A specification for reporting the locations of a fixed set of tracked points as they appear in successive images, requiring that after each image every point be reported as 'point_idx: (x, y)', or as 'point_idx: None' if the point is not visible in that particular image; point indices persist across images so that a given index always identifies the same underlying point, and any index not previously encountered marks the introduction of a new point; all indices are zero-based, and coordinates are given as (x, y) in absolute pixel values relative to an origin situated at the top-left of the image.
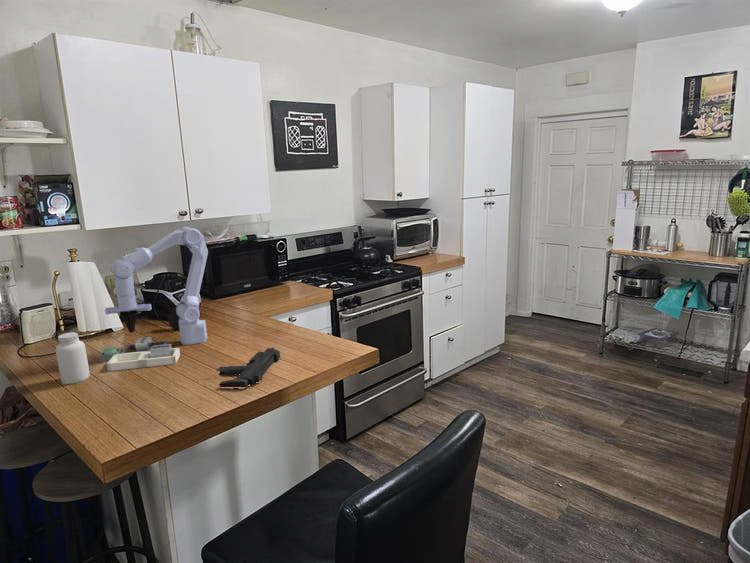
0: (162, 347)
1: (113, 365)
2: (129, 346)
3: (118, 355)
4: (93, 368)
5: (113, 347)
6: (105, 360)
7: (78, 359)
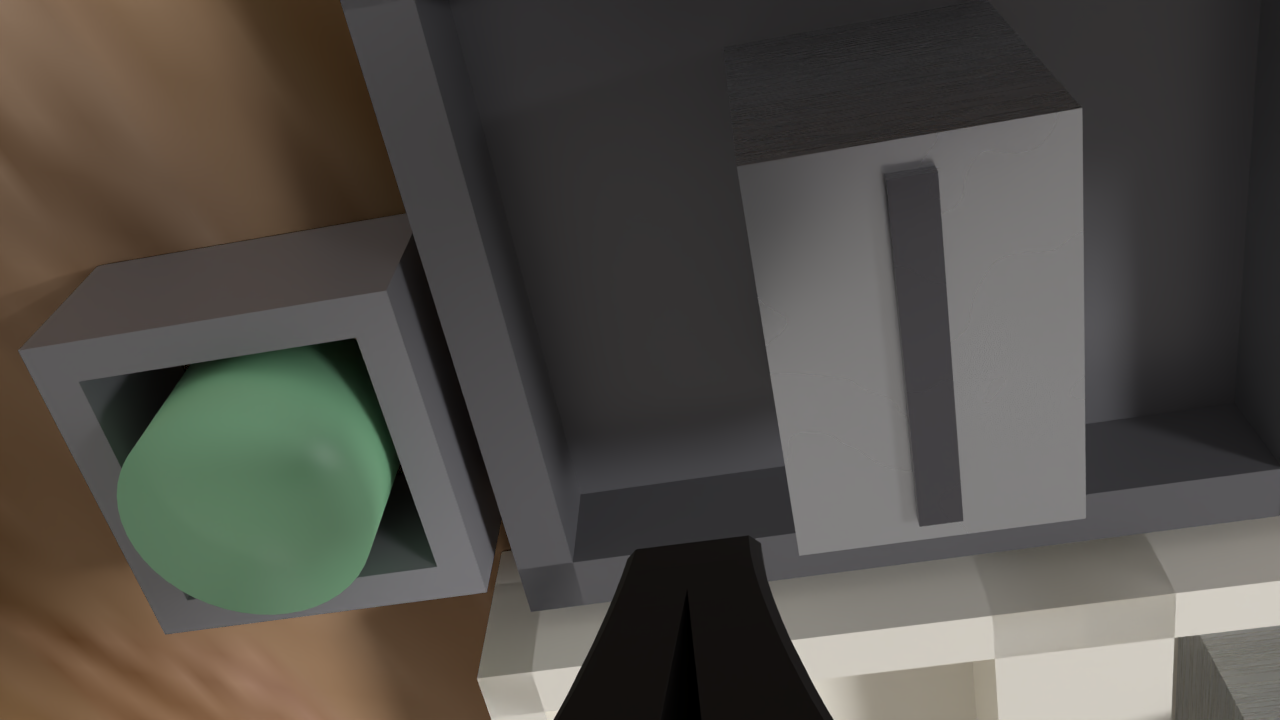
0: None
1: None
2: (426, 25)
3: None
4: (236, 659)
5: (258, 439)
6: None
7: None
